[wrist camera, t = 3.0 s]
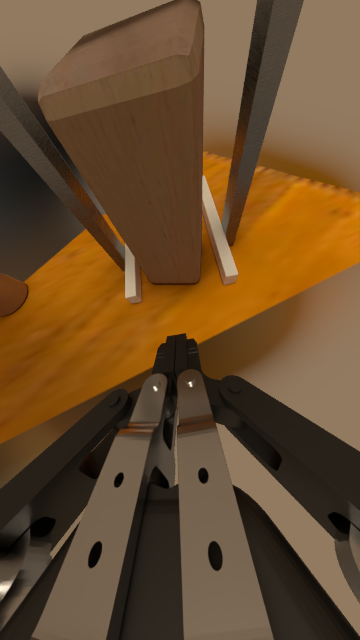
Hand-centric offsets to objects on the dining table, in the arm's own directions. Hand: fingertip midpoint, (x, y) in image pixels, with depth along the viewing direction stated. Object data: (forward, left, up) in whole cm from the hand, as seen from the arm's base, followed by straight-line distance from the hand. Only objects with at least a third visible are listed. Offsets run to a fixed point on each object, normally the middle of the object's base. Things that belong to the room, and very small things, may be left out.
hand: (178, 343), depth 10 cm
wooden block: (0, +18, -11) cm, 21 cm away
